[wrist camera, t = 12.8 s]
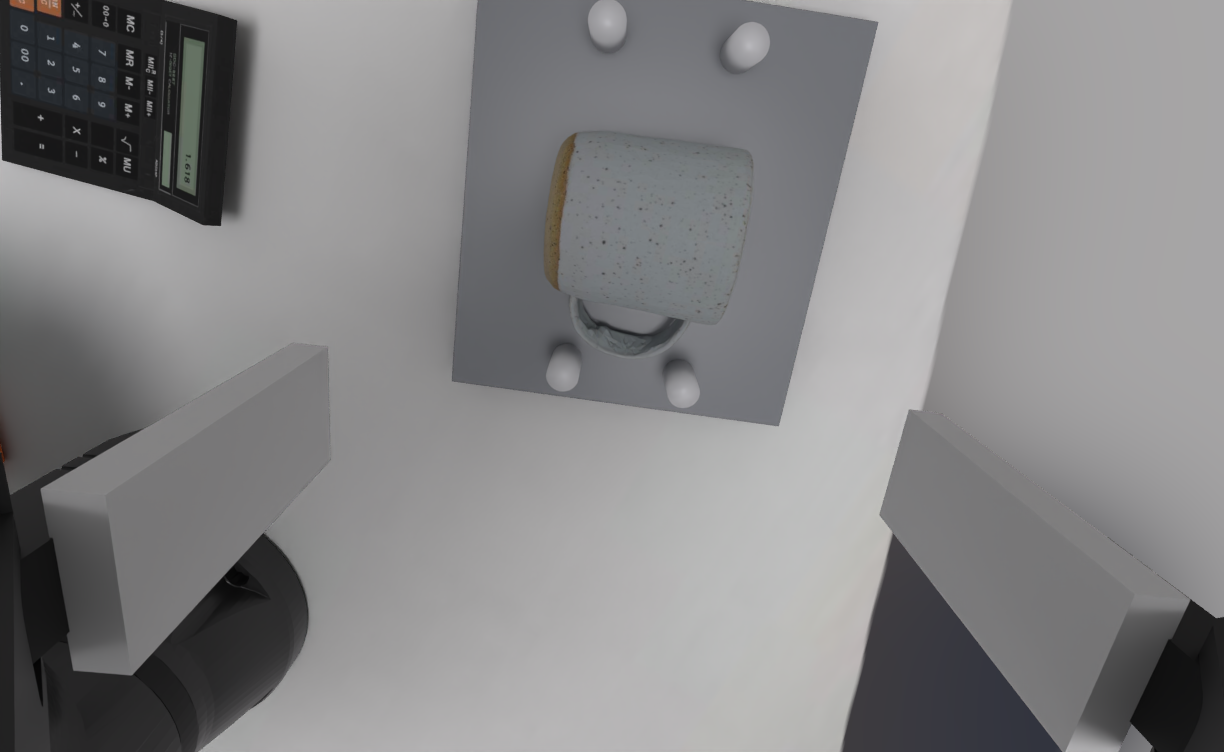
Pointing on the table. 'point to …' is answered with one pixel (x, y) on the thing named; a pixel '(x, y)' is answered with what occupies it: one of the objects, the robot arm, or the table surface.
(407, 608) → the table surface
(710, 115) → the pin tray
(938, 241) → the table surface
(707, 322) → the ceramic mug
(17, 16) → the calculator
